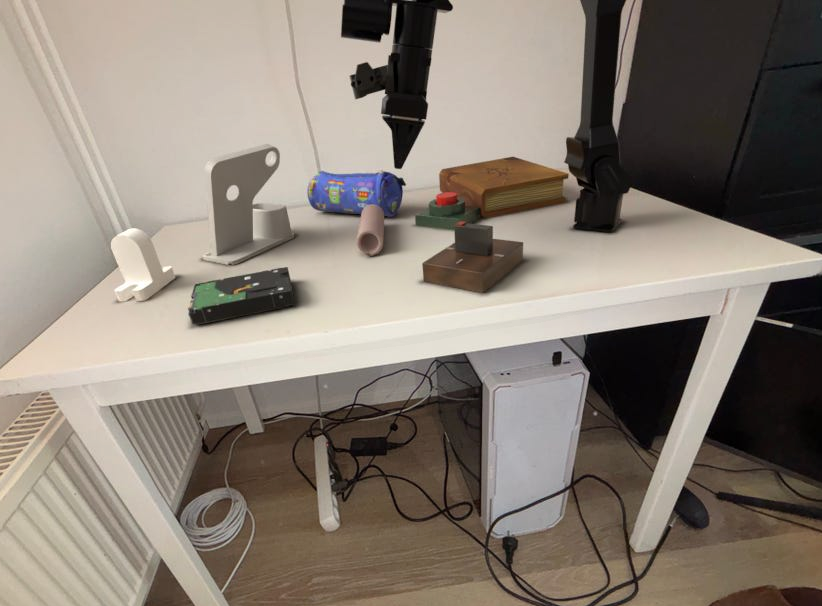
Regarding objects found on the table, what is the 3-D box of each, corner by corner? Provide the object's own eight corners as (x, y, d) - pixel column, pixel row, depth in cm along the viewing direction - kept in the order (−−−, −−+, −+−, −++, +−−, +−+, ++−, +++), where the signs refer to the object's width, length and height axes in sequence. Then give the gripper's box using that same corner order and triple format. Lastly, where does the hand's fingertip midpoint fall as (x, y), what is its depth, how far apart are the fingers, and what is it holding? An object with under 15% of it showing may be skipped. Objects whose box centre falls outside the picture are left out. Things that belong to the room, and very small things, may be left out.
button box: (479, 218, 96) (479, 197, 94) (459, 230, 91) (458, 209, 89) (437, 214, 102) (436, 194, 100) (415, 225, 97) (414, 205, 95)
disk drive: (291, 282, 79) (198, 299, 77) (287, 265, 78) (193, 282, 76) (296, 307, 71) (192, 327, 69) (292, 289, 69) (186, 309, 67)
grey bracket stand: (266, 231, 106) (244, 142, 96) (299, 235, 100) (279, 141, 91) (200, 259, 94) (168, 161, 85) (233, 265, 89) (203, 162, 79)
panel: (522, 260, 76) (523, 241, 74) (482, 293, 68) (482, 272, 66) (466, 252, 81) (466, 234, 80) (423, 281, 73) (421, 261, 71)
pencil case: (409, 210, 106) (405, 165, 101) (388, 222, 101) (383, 174, 96) (331, 206, 118) (324, 164, 113) (308, 217, 112) (299, 173, 107)
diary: (440, 195, 115) (438, 169, 112) (512, 181, 118) (512, 156, 115) (481, 219, 96) (481, 189, 93) (566, 202, 99) (568, 172, 96)
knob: (492, 252, 72) (493, 224, 70) (487, 256, 71) (487, 227, 68) (460, 248, 75) (459, 220, 73) (455, 251, 74) (454, 224, 72)
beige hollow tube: (382, 230, 82) (384, 202, 97) (355, 230, 82) (361, 203, 98) (383, 256, 85) (384, 225, 100) (356, 257, 85) (361, 226, 100)
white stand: (176, 276, 88) (156, 221, 82) (145, 300, 79) (120, 241, 74) (151, 277, 89) (129, 223, 83) (117, 301, 80) (91, 243, 75)
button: (461, 201, 95) (460, 192, 94) (450, 207, 92) (449, 198, 91) (443, 200, 97) (443, 191, 96) (432, 205, 95) (432, 196, 94)
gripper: (362, 43, 77) (354, 149, 85) (348, 36, 61) (340, 167, 69) (432, 52, 77) (417, 157, 85) (436, 47, 61) (418, 177, 69)
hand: (398, 163), depth 77 cm, fingers open, 9 cm apart
